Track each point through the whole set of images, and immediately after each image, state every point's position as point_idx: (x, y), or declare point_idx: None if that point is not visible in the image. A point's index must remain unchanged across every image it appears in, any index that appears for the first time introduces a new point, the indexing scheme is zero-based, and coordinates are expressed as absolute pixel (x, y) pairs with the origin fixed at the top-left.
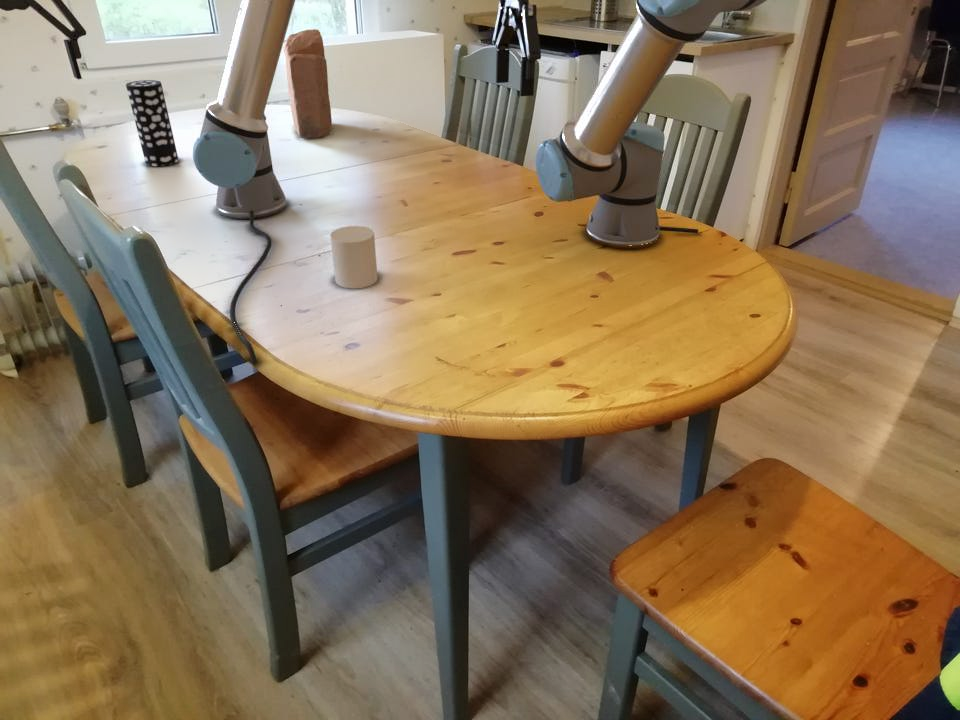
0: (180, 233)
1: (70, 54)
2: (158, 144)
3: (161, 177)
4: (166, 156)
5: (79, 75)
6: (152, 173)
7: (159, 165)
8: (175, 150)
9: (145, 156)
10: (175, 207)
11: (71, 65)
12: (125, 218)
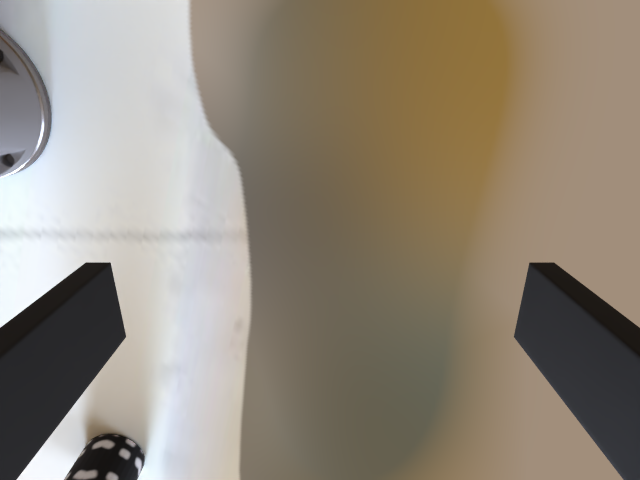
0: (150, 39)
1: (7, 349)
2: (94, 471)
3: (130, 382)
4: (98, 448)
5: (83, 271)
6: (142, 410)
7: (122, 437)
8: (75, 462)
9: (135, 466)
10: (133, 205)
11: (86, 361)
12: (234, 203)
